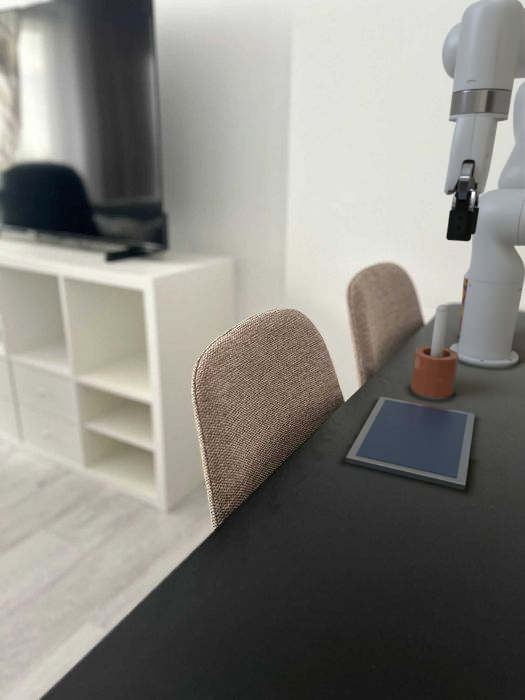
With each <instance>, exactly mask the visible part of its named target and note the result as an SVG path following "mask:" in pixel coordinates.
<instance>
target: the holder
mask: <svg viewBox="0 0 525 700" xmlns="http://www.w3.org/2000/svg"><path fill="white" fill-rule="evenodd" d="M431 347H432V345H424V346H419V347H417V348H416V349H415V350H414V355H413V364H412V365H413V366H412V373H411V381H410V383H411V384H410V388H411V390H412V391H413V392H415V393H416V394H418V395H421V396H425V397H430V398H446V397H450V396H452V395H453V394H454V392H455V384H456V377H457V373H458V372H457V371H458V364H459V359H458V358H459V355H458V353H457V352H455V351H453V350H451V349H450V348H447V347H443V354H442V357H432V356H430V355H431Z"/></svg>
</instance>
